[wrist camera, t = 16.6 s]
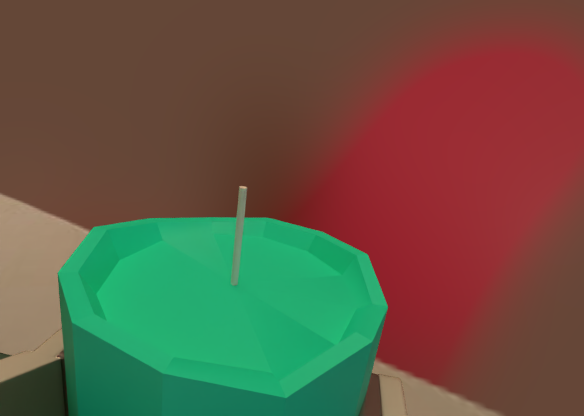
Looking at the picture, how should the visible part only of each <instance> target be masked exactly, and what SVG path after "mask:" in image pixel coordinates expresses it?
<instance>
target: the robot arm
mask: <svg viewBox="0 0 584 416" xmlns="http://www.w3.org/2000/svg"><path fill="white" fill-rule="evenodd" d="M0 416H69V412H68V399H67V386H66V373H65V360H64V347H63V334H62V328H61V329H60V330H58V331H57V332H56V333H55V334H54V335H52V336H51V337H50V338H49V339H48V340H46V341H45V342H44V343H43V344H42V345H40V346H39V347H38V348H37V349H36V350H34V351H33V352H30V351H24V352H21V353H19V354H16V355H13V356H10V357H7V358H4V359H1V360H0ZM359 416H407V410H406V404H405V399H404V393H403V387H402V381H401V380H400V379H399V378H396V377H391V376H386V375H381V374H378V375H377V374H373V373H371V377H370V381H369V385H368V389H367V393H366V396H365V398H364V401H363V404H362V407H361V410H360V413H359Z"/></svg>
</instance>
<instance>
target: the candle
mask: <svg viewBox="0 0 584 416" xmlns="http://www.w3.org/2000/svg"><path fill="white" fill-rule="evenodd" d="M246 194H247V187H244V186H241V187H239V197H238V208H237V218H216V217H215V218H214V217H210V218H208V217H207V218H148V219H142V220H136V221H130V222H123V223H118V224H111V225H104V226H98V227H93V229H92V230H91V231H90V232H89V234H88V235H87V236H86V237H85V239H84V240H83V241H82V243H81V244H80V245H79V246H78V248H77V249H76V250H75V251H74V253H73V254H72V255H71V257H70V258H69V259H68V260H67V262H66V263H65V264H64V265H63V267H62V268H61V269H60V271H59V272H58V283H59V296H60V309H61V322H62V334H63V347H64V360H65V373H66V386H67V399H68V412H69V416H359V413H360V410H361V407H362V404H363V401H364V398H365V396H366V393H367V389H368V385H369V381H370V377H371V373H372V369H373V365H374V361H375V357H376V353H377V349H378V345H379V341H380V336H381V333H382V329H383V325H384V321H385V316H386V313H387V309H388V306H387V303H386V301H385V298H384V295H383V293H382V290H381V288H380V285H379V283H378V280H377V278H376V275H375V272H374V270H373V267H372V264H371V262H370V259H369V257H368V254H366V253H364V252H362V251H360V250H358V249H356V248H354V247H352V246H349V245H348V244H346V243H343V242H342V241H339V240H337V239H335V238H333V237H331V236H330V235H328V234H325V233H323V232H320V231H316V230H313V229H309V228H305V227H301V226H298V225H294V224H290V223H286V222H282V221H279V220H275V219H271V218H244V215H245V205H246Z"/></svg>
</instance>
